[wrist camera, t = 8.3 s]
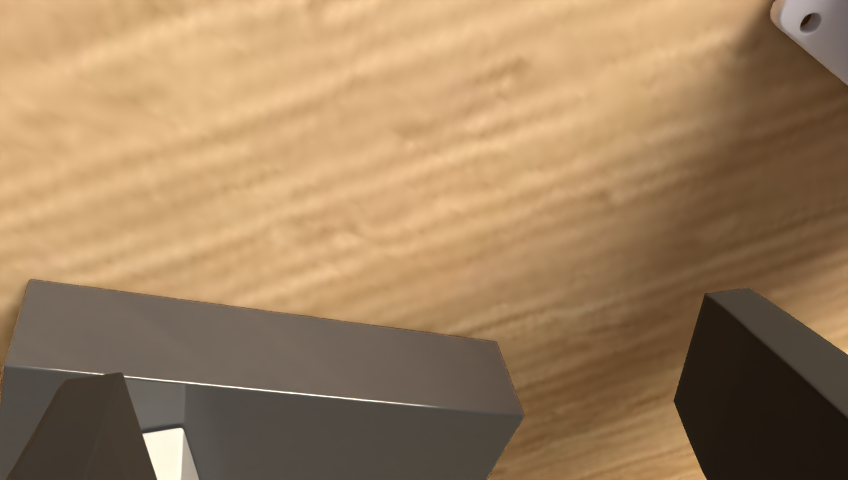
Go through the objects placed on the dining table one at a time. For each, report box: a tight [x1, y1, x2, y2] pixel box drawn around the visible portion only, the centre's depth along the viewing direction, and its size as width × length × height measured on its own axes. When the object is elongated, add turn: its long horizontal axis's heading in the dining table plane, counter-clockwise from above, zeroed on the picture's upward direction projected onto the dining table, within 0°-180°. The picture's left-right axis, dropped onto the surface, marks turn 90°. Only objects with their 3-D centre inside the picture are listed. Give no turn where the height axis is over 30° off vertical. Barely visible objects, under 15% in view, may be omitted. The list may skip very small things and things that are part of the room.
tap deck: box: [0, 279, 525, 480], centre depth 23 cm, size 13×10×3 cm
